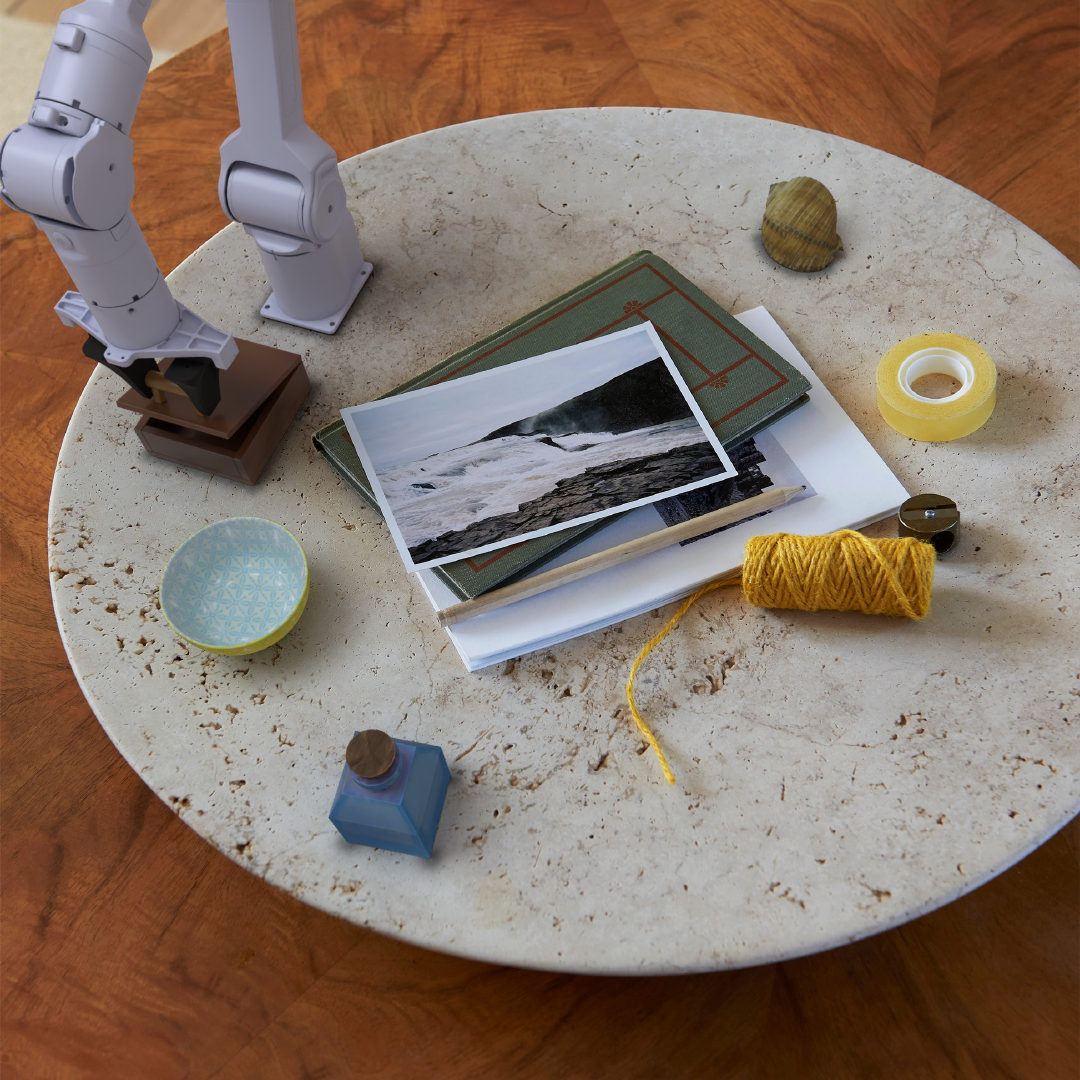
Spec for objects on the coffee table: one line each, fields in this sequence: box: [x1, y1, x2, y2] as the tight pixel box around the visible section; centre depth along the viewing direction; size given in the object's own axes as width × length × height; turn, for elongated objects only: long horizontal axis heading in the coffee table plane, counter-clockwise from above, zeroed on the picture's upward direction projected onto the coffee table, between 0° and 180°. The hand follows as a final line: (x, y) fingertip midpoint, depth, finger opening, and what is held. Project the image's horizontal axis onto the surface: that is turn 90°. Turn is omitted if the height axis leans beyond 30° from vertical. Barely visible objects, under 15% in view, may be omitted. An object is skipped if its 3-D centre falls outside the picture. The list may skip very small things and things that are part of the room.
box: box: [133, 360, 313, 487], centre depth 93 cm, size 12×11×4 cm
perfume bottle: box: [327, 728, 452, 860], centre depth 71 cm, size 6×6×12 cm
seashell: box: [760, 176, 845, 273], centre depth 102 cm, size 10×7×8 cm
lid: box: [115, 336, 303, 439], centre depth 89 cm, size 12×11×4 cm
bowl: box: [158, 515, 311, 656], centre depth 82 cm, size 11×12×6 cm
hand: (182, 397), depth 86 cm, fingers closed on lid, 5 cm apart
